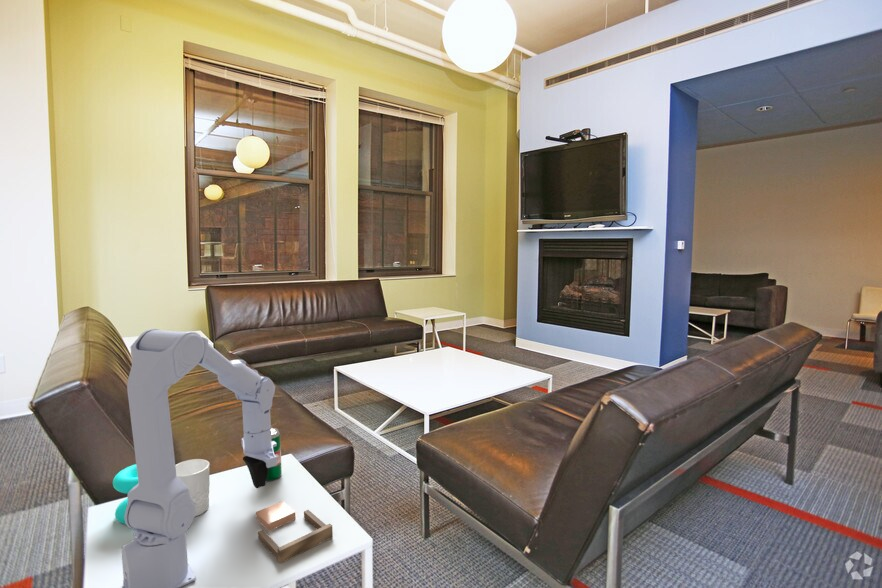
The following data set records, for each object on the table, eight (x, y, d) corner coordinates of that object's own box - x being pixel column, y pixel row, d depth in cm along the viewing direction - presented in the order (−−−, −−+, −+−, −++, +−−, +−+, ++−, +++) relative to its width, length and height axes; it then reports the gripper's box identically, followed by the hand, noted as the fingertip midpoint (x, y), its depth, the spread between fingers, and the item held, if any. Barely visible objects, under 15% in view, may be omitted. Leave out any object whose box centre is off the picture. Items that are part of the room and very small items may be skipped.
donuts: (171, 471, 99) (114, 487, 92) (173, 515, 100) (118, 533, 94) (162, 455, 106) (110, 468, 100) (165, 495, 108) (113, 511, 101)
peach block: (268, 533, 95) (268, 524, 94) (256, 520, 99) (255, 512, 99) (295, 520, 99) (295, 511, 99) (282, 509, 103) (282, 500, 103)
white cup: (169, 508, 103) (166, 465, 101) (207, 496, 107) (205, 455, 106) (174, 525, 96) (171, 480, 95) (215, 512, 101) (212, 469, 100)
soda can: (274, 482, 113) (272, 436, 112) (256, 480, 114) (254, 434, 113) (285, 473, 118) (284, 428, 117) (267, 471, 119) (266, 426, 118)
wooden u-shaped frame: (280, 563, 85) (279, 550, 85) (258, 538, 92) (257, 526, 92) (332, 537, 93) (332, 525, 92) (308, 516, 100) (307, 505, 99)
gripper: (289, 433, 100) (291, 491, 102) (261, 414, 110) (263, 468, 112) (257, 442, 95) (259, 504, 97) (231, 422, 106) (233, 478, 107)
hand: (259, 485), depth 104 cm, fingers closed
